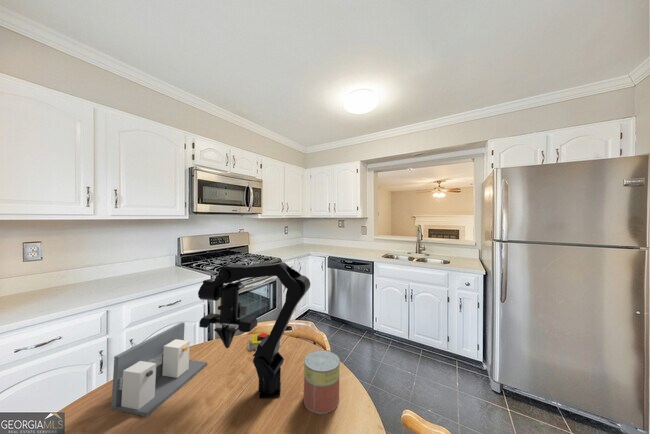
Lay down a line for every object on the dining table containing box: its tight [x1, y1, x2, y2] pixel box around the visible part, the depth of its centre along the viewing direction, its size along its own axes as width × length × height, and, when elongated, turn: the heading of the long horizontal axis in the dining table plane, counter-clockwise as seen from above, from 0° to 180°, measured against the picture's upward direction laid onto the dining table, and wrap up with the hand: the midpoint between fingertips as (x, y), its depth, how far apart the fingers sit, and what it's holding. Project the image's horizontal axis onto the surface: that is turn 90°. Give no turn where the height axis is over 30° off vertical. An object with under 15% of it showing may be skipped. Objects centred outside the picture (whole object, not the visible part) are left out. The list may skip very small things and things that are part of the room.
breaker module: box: [162, 339, 191, 378], centre depth 81 cm, size 7×5×10 cm
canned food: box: [303, 349, 341, 415], centre depth 71 cm, size 11×11×12 cm
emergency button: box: [247, 332, 271, 351], centre depth 105 cm, size 9×4×15 cm
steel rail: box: [118, 353, 163, 390], centre depth 77 cm, size 1×23×3 cm, turn 170°
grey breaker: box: [121, 361, 156, 410], centre depth 68 cm, size 7×5×10 cm
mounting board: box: [110, 321, 208, 418], centre depth 77 cm, size 12×24×15 cm, turn 170°
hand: (227, 347), depth 78 cm, fingers closed
